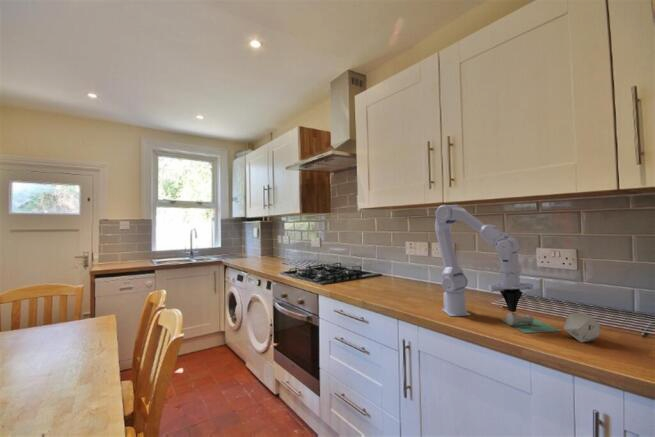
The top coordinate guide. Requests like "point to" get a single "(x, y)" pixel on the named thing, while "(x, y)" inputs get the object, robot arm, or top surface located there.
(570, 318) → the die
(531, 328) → the felt mat
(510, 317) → the rook chess piece
